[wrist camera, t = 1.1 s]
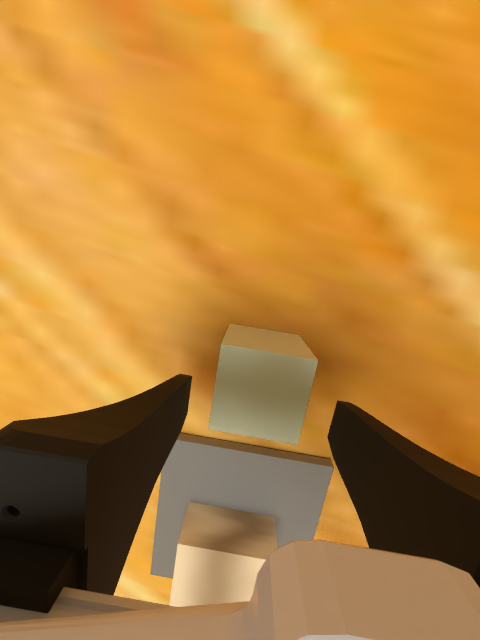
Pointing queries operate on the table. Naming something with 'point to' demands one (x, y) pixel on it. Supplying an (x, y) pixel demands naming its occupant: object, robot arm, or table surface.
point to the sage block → (262, 384)
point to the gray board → (237, 490)
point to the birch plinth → (220, 555)
